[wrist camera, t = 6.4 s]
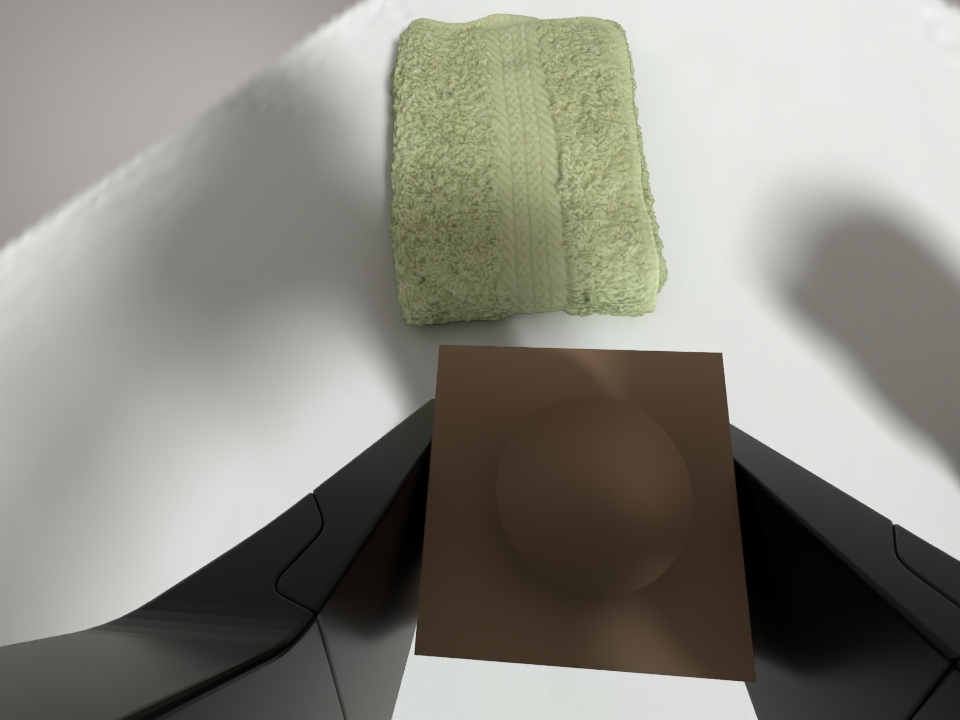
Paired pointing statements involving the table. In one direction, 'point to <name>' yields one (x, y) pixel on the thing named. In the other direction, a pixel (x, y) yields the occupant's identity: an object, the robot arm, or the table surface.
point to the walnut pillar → (584, 513)
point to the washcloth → (520, 172)
